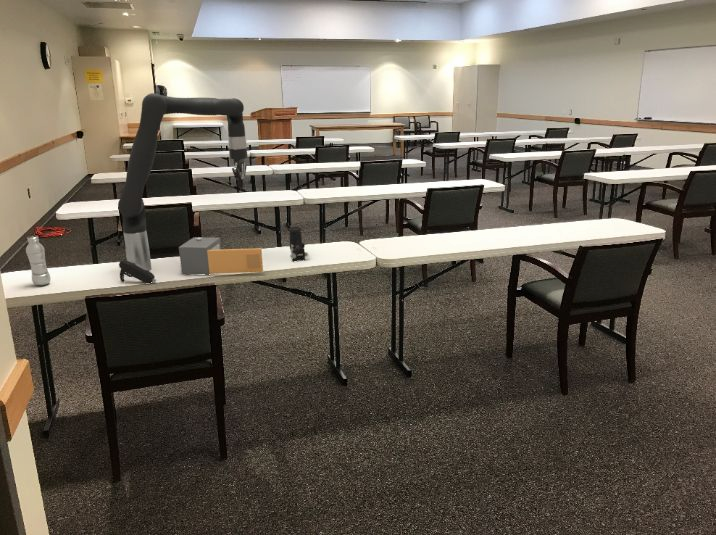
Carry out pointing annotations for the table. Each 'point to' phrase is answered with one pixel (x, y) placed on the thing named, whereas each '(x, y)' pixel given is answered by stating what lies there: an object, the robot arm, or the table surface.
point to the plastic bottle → (37, 261)
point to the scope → (296, 244)
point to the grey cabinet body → (197, 254)
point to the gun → (135, 272)
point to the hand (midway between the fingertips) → (241, 187)
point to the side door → (235, 261)
